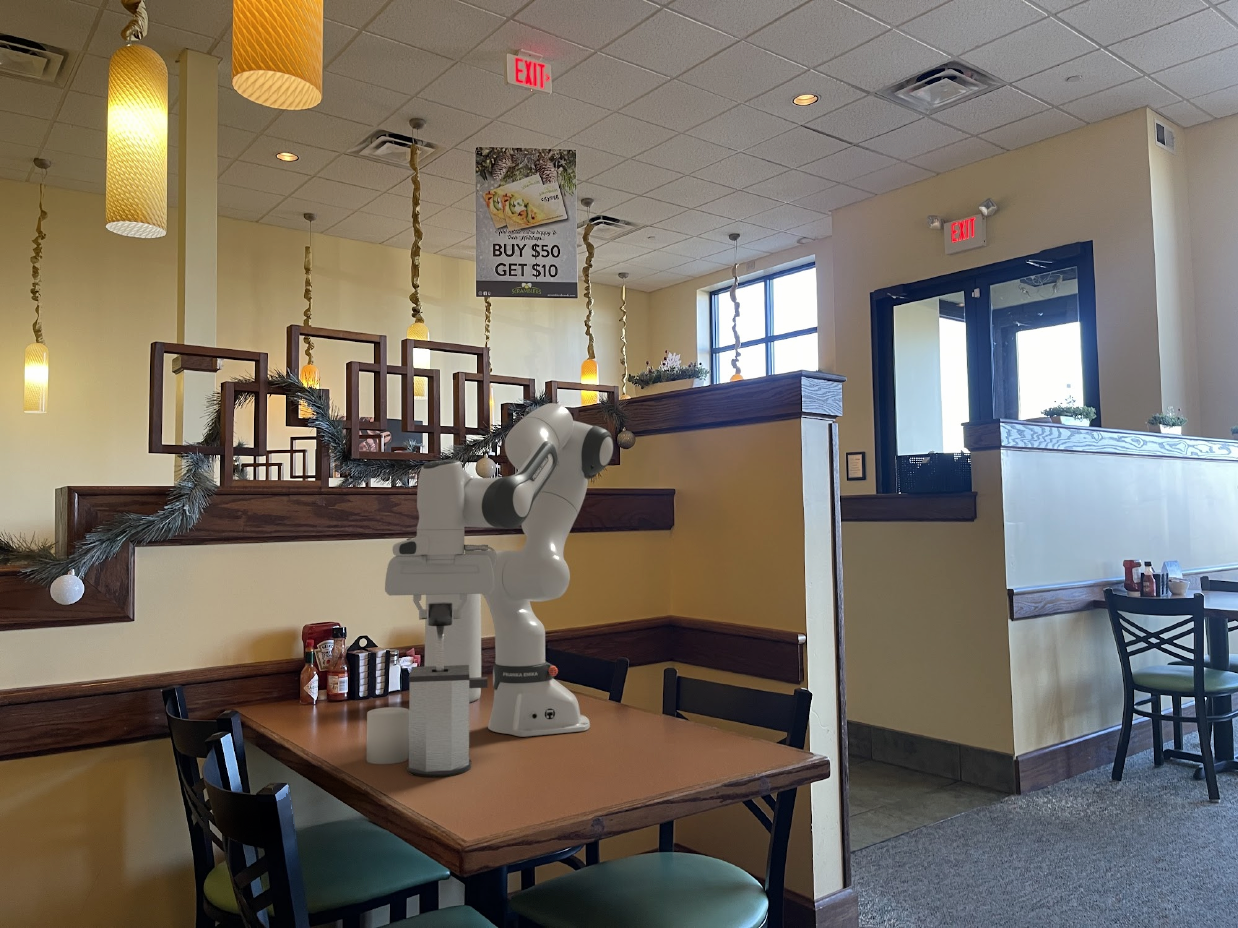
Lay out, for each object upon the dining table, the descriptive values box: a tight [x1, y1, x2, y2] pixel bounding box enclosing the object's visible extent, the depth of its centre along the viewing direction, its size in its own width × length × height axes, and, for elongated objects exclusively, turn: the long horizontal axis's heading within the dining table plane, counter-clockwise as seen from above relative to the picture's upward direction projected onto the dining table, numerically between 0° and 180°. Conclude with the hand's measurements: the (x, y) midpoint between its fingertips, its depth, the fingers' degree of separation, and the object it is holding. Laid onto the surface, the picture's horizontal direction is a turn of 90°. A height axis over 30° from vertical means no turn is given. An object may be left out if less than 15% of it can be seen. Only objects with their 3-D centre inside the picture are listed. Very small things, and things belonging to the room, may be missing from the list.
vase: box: [424, 594, 482, 703], centre depth 232 cm, size 14×14×32 cm
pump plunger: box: [428, 602, 452, 672], centre depth 169 cm, size 4×4×21 cm
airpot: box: [406, 665, 489, 778], centre depth 168 cm, size 15×12×18 cm
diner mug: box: [365, 706, 409, 765], centre depth 177 cm, size 8×11×9 cm
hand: (440, 618), depth 169 cm, fingers open, 5 cm apart
